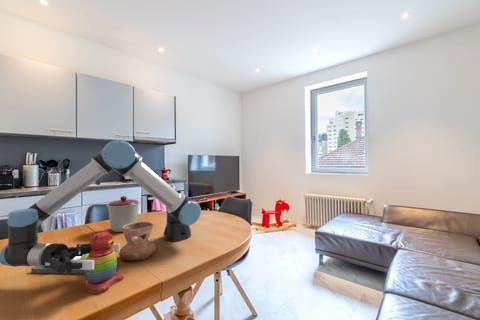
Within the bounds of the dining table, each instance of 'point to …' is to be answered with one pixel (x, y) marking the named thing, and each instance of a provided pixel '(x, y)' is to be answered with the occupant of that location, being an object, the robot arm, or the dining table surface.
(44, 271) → the gear board
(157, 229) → the dining table surface
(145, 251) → the ceramic jug
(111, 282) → the stacking bear
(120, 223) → the canister
